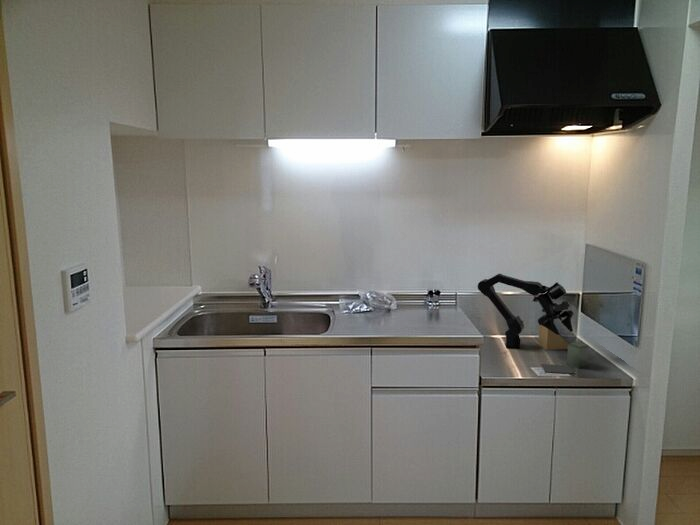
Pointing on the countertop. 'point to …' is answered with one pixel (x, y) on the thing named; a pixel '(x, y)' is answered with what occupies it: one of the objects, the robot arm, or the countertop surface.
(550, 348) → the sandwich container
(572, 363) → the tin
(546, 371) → the mat
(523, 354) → the countertop surface
